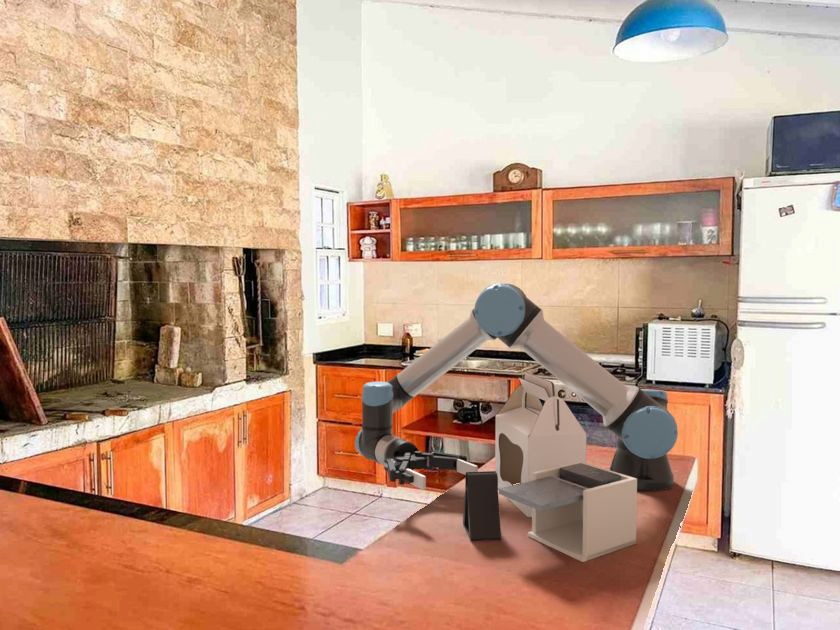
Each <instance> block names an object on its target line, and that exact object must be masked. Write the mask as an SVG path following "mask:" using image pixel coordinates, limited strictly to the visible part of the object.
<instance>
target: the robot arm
mask: <svg viewBox="0 0 840 630" xmlns="http://www.w3.org/2000/svg"><path fill="white" fill-rule="evenodd" d="M469 315H470V316H469V317H467V319H465V320H464V321H463V322H461V323H460V324H459V325H458V326H457V327H455V328H454V329H453V330H452V331H450V332H449V333H448V334H446V335H445V336H444V337H443V338H442V339H440V340H439V341H437V343H435V344H433V346H431V347H430V348H429V349H427V350H426V351H425V352H424V353H422V355H420V356H418V358H416V359H415V360H413V362H411V363H409V365H408V366H406V367H404V368H403V370H401V371H399V373H398V374H396V375H395V376H394V377H392V378H391V379H390V380H388V381H369V382H366V383H365V384H363V386H362V393H361V394H362V395H361V401H362V402H361V404H362V405H361V408H362V409H361V411H362V412H361V413H362V414H361V415H362V416H361V417H362V420H361V421H362V422H361V423H362V424H361V429H360V430H359V431H358V433H357V434H356V437H355V440H354V447H355V449H356V451H357V452H358V453H359V455H362V456H363V457H364V458H365V459H367V460H370V461H372V462H376V463H378V464H380V465H382V466H383V469H384V471H386V472H387V474H388V478H389V482H391V483H395V482H396V481H397V480H398V484H399V485H401V486H403V485H405V482H406V483H408V484H409V485H412V486H413V487H416V488H418V489H420V490H422V491H423V490H426V489H427V483H426V482H427V476H426V475H424V474H421V473H420V472H417V471H416V470H419V471H420V470H422V469H423V470H432V469H433V468H435V469H443V470H445V469H446V470H456V472H458V473H460V474H461V475H464V476H465V475H466V472H479V471H478V470H479V468H478V467H479V466H478V465H476V464H474V463H471V462H468V457H467V456H466V455H462V454H453V453H446V452H440V451H436V450H433V449H431V450H430V451H429V452H422V451H420V450H419V448H418V447H417V446H416V445H415V444H414V443H413V442H410V441H408V440H405V439H403V438H401V437H398V436H395V435H393V414H394V413H396V412H397V411H398V410H400V409H402V408H403V407H404V406H405V405H407V404H408V403H410V401H411V400H412V399H414V398H415V397H416V396H417V395H419V394H420V393H421V392H423V391H424V390H425V389H427V388H428V387H429V386H430V385H432V384H434V382H436V381H437V380H438V379H439V378H441V377H443V375H445V374H446V373H447V372H449V371H450V370H451V369H452V368H454V367H455V366H457V364H459V363H460V362H461V361H463V360H464V359H466V357H468V356H469V355H471V354H472V353H473V352H474V351H476V350H477V349H479V347H481V346H482V345H484V344H485V343H486V342H488V341H495V340H497V339H498V340H499V341H501V342H502V343H503V344H504V345H505V346H507V347H508V348H509V349H511V350H512V349H521V350H522V351H523V352H524V353H526V354H527V356H529V357H530V358H532V359H533V360H534V361H535V362H537V363H538V364H539V365H540V366H541V367H542V368H544V369H545V370H546V371H548V372H549V373H550V374H551V375H552V376H554V377H555V378H556V379H557V380H559V381H560V382H561V383H562V384H563V385H565V386H566V387H567V388H568V389H569V390H570V391H572V392H573V393H574V394H576V395H577V396H578V397H579V398H580V399H582V400H583V401H584V402H585V403H587V405H589V406H590V407H591V408H593V409H594V411H596V412H598V413H599V414H600V415H601V416H602V421H603V426H604V427H605V428H607V429H608V430H609V431H610V432H611V433H613V434H614V435H615V437H616V450H615V453H614V456H613V457H612V461H611V464H610V466H609V469H608V470H610V471H613V472H617V473H620V474H623V475H627V476H630V477H633V478H637V491H648V492H649V491H650V492H651V491H653V492H654V491H663V490H664V491H665V490H668V489H671V488H672V487H673V486H674V473H673V471H672V467H671V464H670V460H669V457H668V453H670V452H671V451H672V450H673V448H674V446H675V445H676V443H677V439H678V433H679V431H678V425H677V422H676V419H675V417H674V416H673V414H672V413H670V411H669V410H668V404H669V399H668V393H667V391H665V390H661V389H649V388H640V387H639V386H627V385H625V384H624V382H621V381H620V380H619V379H618V378H616V376H614V375H613V374H612V373H610V372H609V370H607V369H605V368H604V367H603V366H602V365H600V364H599V363H598V362H597V361H596V360H594V359H593V358H592V357H591V356H590V355H588V354H587V353H586V352H584V351H583V350H582V349H581V348H579V346H577V345H576V344H575V343H573V342H572V341H571V340H570V339H568V338H567V337H566V336H564V334H563V333H561V332H559V331H558V330H557V329H556V328H555V327H554V326H552V325H551V324H550V323H549V322H547V321H546V320H545V317H544V316H545V315H544V310H543V309H542V308H540V307H539V306H538V305H536V303H534V302H533V301H532V300H531V299H530V298H528V297H527V295H526V293H525V292H524V291H523V290H522V289H521V288H520V287H518V286H517V285H514V284H511V283H502V282H501V283H493V284H491V285H489V286H486V287H485V288H484V289H483V291H481V292H480V294H479V295H478V297H477V298H476V301H475V303H474V308H473V309H472V310H471V311H470V314H469Z"/></svg>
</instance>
